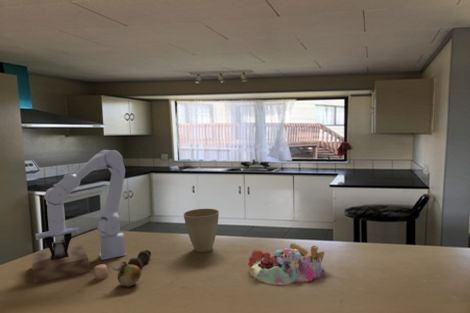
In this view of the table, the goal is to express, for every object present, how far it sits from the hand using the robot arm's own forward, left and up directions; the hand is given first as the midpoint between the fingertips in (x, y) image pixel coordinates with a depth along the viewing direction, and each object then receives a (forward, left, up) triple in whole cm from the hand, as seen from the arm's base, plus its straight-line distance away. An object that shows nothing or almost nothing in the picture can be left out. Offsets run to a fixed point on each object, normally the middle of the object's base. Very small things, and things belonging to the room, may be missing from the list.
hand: (59, 254), depth 136 cm
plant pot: (-54, +12, -6) cm, 56 cm away
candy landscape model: (-69, +51, -6) cm, 86 cm away
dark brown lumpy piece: (-27, +14, -6) cm, 31 cm away
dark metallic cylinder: (0, 0, -3) cm, 3 cm away
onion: (-19, +30, -6) cm, 36 cm away
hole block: (0, 0, -6) cm, 6 cm away
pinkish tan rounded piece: (-12, +18, -6) cm, 22 cm away
